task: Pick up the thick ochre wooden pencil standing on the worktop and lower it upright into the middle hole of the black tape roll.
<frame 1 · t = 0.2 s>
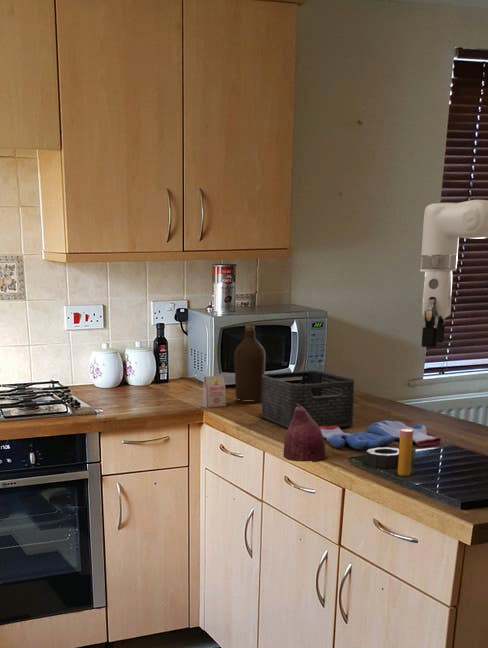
hand: (432, 344, 196), 28 cm above the countertop, tool pointing down, fingers open, 9 cm apart
brown bottle: (250, 401, 300), on the countertop
pink carton: (214, 407, 292), on the countertop
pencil: (404, 474, 197), on the countertop
pair of gloves: (378, 441, 232), on the countertop
vegetable: (304, 458, 216), on the countertop
tape: (385, 463, 207), on the countertop
storage bin: (305, 422, 261), on the countertop
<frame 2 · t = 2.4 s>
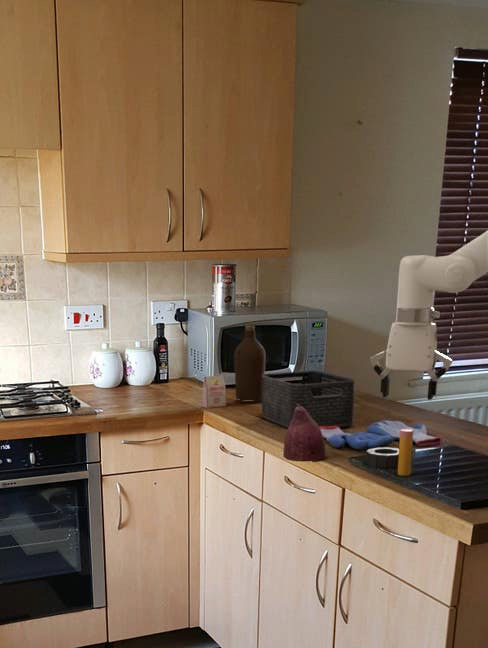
hand: (407, 397, 192), 17 cm above the countertop, tool pointing down, fingers open, 9 cm apart
nothing on the countertop moved.
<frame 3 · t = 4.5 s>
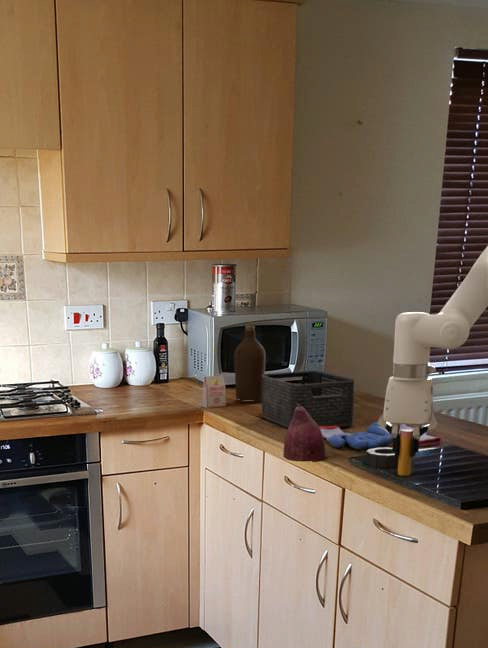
hand: (405, 454, 196), 5 cm above the countertop, tool pointing down, fingers closed on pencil, 2 cm apart
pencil: (404, 474, 197), on the countertop, touching gripper
everything else where it was.
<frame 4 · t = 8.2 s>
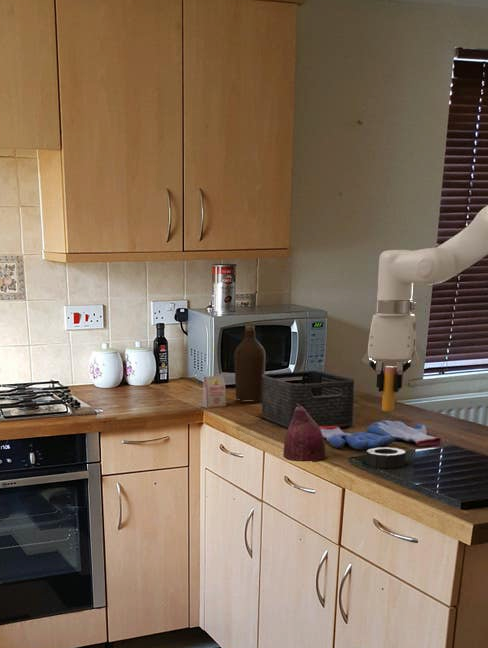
hand: (389, 390, 201), 17 cm above the countertop, tool pointing down, fingers closed on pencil, 2 cm apart
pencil: (387, 410, 203), point 13 cm above the countertop, touching gripper
everything else where it was.
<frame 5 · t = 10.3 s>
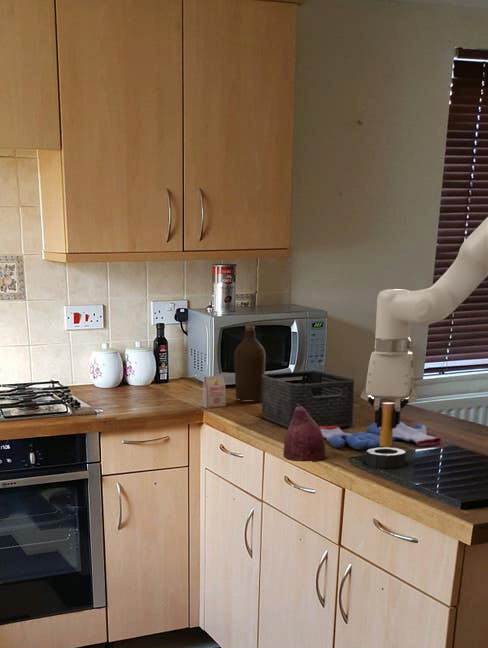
hand: (386, 426, 204), 9 cm above the countertop, tool pointing down, fingers closed on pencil, 2 cm apart
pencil: (385, 445, 206), point 4 cm above the countertop, touching gripper
everything else where it was.
when the fingers open (5 cm above the countertop, at t = 11.9 s): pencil stays where it is, resting in tape.
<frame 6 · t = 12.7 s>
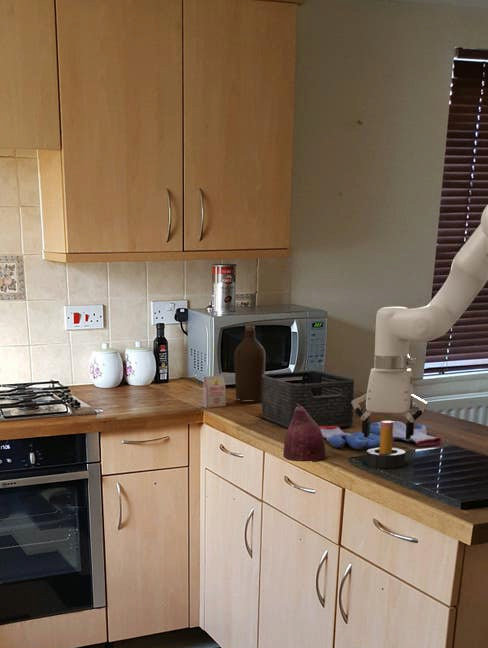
hand: (387, 437, 205), 6 cm above the countertop, tool pointing down, fingers open, 9 cm apart
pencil: (384, 463, 207), resting in tape
everything else where it was.
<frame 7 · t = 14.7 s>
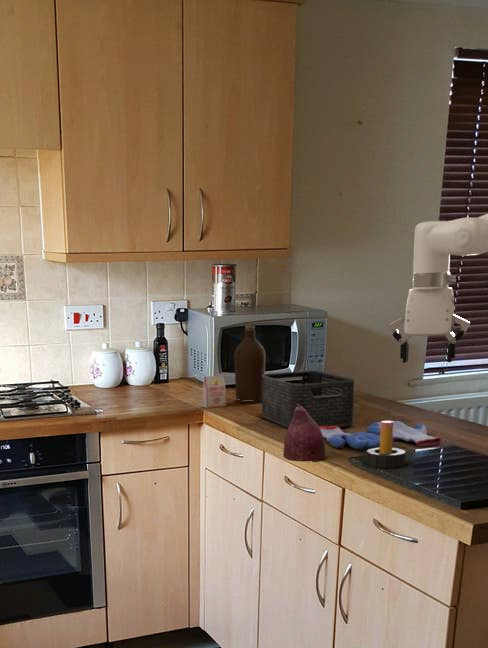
hand: (427, 361, 196), 24 cm above the countertop, tool pointing down, fingers open, 9 cm apart
nothing on the countertop moved.
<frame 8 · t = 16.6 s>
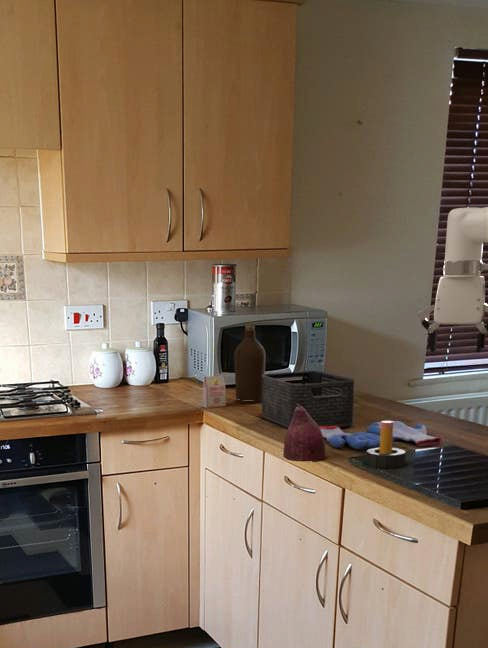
hand: (455, 351, 193), 26 cm above the countertop, tool pointing down, fingers open, 9 cm apart
nothing on the countertop moved.
at the end: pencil 0.1 cm off-centre on the tape, point 0.0 cm above the tape's base; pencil tilted 0°; the gripper is holding nothing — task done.
